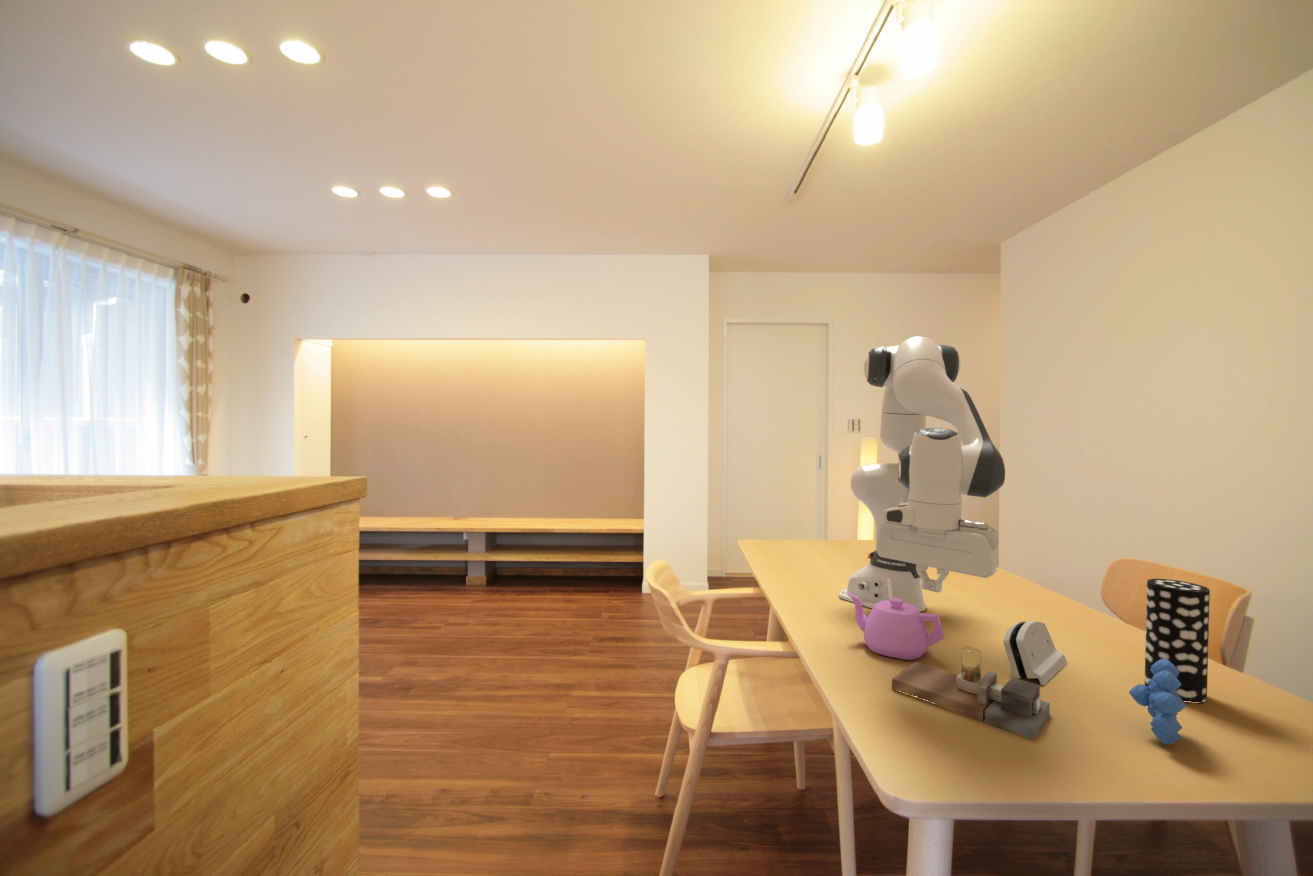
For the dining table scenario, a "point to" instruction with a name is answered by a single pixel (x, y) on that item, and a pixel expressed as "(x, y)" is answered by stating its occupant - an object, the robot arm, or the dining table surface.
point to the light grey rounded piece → (1032, 651)
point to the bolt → (973, 674)
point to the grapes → (1162, 700)
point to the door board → (977, 698)
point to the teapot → (897, 628)
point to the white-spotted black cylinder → (1179, 633)
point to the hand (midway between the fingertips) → (931, 590)
